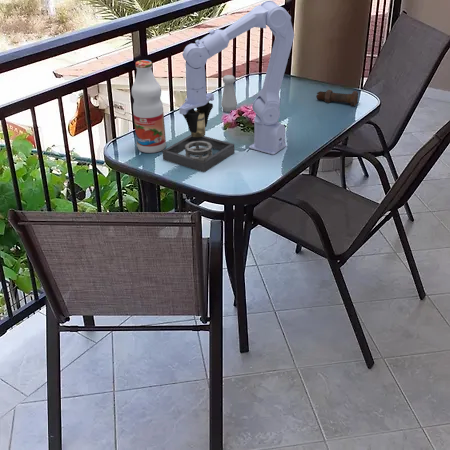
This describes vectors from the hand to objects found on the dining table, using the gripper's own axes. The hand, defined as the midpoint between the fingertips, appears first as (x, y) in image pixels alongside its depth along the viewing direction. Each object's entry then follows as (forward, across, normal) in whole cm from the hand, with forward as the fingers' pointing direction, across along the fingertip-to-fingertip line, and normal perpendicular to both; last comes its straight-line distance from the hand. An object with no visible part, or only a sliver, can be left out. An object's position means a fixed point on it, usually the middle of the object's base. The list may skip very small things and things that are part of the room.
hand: (198, 129), depth 181 cm
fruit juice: (+9, +4, -17) cm, 20 cm away
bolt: (+9, -65, +16) cm, 67 cm away
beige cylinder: (+2, 0, 0) cm, 2 cm away
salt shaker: (+9, -36, -14) cm, 40 cm away
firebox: (+9, 0, 0) cm, 9 cm away
